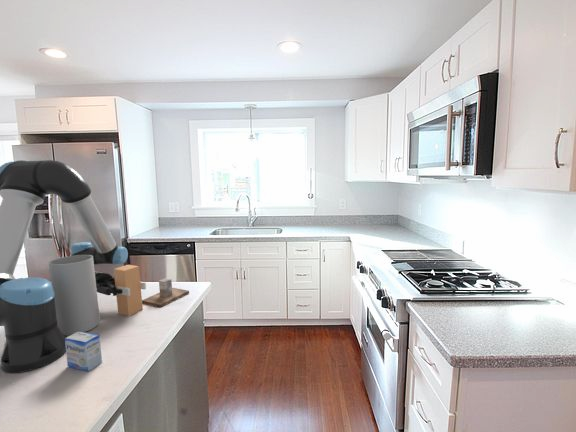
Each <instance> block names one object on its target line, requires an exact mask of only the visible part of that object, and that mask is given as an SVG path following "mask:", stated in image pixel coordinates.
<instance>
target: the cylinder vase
mask: <svg viewBox="0 0 576 432" xmlns="http://www.w3.org/2000/svg"><path fill="white" fill-rule="evenodd" d="M48 268H49V269H48V270H49V276H50V282H51V284H52V288H53V291H54V298H55V307H56V317H57V325H58V327H59V329H60V330H61V332H62V334H63V335H64V337H66V336H67V337H69V336H71V335H72V334H75V333H77V332H84V333H88V331H91V330H93V329H94V328H96V327H98V325H99V324H100V321H101V319H100V310H99V301H98V300H99V299H98V292H97V289H96V280H95V271H96V270H95V265H94V261H93V256H92V255H75V256H71V255H68V256H63V257H58V258H55V259H52V260H50V261H49V262H48Z"/></svg>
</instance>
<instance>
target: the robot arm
mask: <svg viewBox="0 0 576 432" xmlns="http://www.w3.org/2000/svg"><path fill="white" fill-rule="evenodd" d="M92 193H93V192H92V190H91V188H90V185H89V184H88V182H87V181H86V180H85V179H84V177H83V176H82V174H80V173H79V172H78V171H77V170H75V169H74V168H73V167H71V166H69V165H68V164H67V163H65V162H62V161H59V160H56V159H55V160H54V159H48V160H14V161H9V162H8V161H7V162H5V163H3V164H1V166H0V197H1V198H2V200H1V202H0V327H3V329H4V335H5V342H4V346H3V351H2V354H1V357H0V366H1V370H2V371H3V372H4V373H9V374H11V373H12V374H14V373H15V374H16V373H18V374H19V373H23V372H28V371H33V370H35V369H38V368H41V367H44V366H46V365H49V364H51V363H52V362H56V360H58V359H60V358H61V357H62V356H63V355H64V354H66V345H65V338H66V336H65V335H63V334H62V332H61V330H60V329H59V327H58V325H57V317H56V307H55V298H54V291H53V288H52V284H51V280H48V279H46V278H43V277H36V276H35V277H33V276H32V277H31V276H29V277H26V278H25V277H20V278H15V276H14V272H15V270H16V267H17V265H18V261H19V258H20V254H21V252H22V249H23V246H24V244H25V240H26V237H27V236H28V235H27V234H28V232H29V229H30V225H31V222H32V221H33V220H32V219H33V216H34V214H35V210H36V207H37V206H40V205H43V204H44V201H45V198H46V196H47V195H55V196H58V197H59V198H60V200H61V202H62V203H63V204H67V205H68V207H69V208H70V209H71V211H72V213H73V216H75V218H76V220H77V222H78V223H79V225H80V226H81V228H82V230H83V231H84V233H85V234H86V236H87V238H88V239H89V241H82V242H76V243H73V244H71V246H70V256H75V255H92V256H93V261H94V266H95V265H98V266H99V265H106V266H107V265H113V266H115V265H123V264H125V262H127V260H128V257H129V252H128V249H127V248H126V247H125V246H121V245H119V246H118V245H117V242H116V241H115V238H114V237H113V236H112V233H111V231H110V229H109V228H108V226H107V224H106V221H105V220H104V218H103V215H102V214H101V213H100V211H99V209H98V207H97V205H96V203H95V202H94V199H93V198H92ZM95 280H96V289H97V294H98V293H99V294H102V295H105V296H111V295H112V296H114V297H116V295H117V294H122V295H126V296H130V288H125V287H120V286H117V288H116V287H115V277H113V276H112V274H110V273H106V272H101V271H96V270H95ZM140 285H141V290H146V289H147V285H146V282H145V281H140ZM116 293H117V294H116Z"/></svg>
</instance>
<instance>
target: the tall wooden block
mask: <svg viewBox="0 0 576 432" xmlns="http://www.w3.org/2000/svg"><path fill="white" fill-rule="evenodd" d="M140 273H141V272H140V266H138V265H132V264H126V265H122V266H119V267H116V268H113V276H114V277H115V287H116V288H117V286H120V287H125V288H130V296H126V295H122V294H117V293H116V294H117V295H116V296H115V297H116V304H117V314H120V315H124V316H127V317H130V316H132V315H134V314H136V313H138V312H140V311H143V303H142V300H143V297H142V289H141V285H140V282H141V277H140V276H141V274H140Z"/></svg>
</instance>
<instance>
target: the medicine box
mask: <svg viewBox="0 0 576 432" xmlns="http://www.w3.org/2000/svg"><path fill="white" fill-rule="evenodd" d="M65 345H66V352H65V355H66V363H67V368H72V369H75V370H76V369H77V370H81V371H86V372H90V371H92V370H93V369H94V368H96V367H98V366H99V365H101V364H102V363H103V357H102V347H101V346H102V345H101V338H100V335H99V334H95V333H89V332H77V333H75V334H72V335H69V336H67V337H65Z"/></svg>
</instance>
